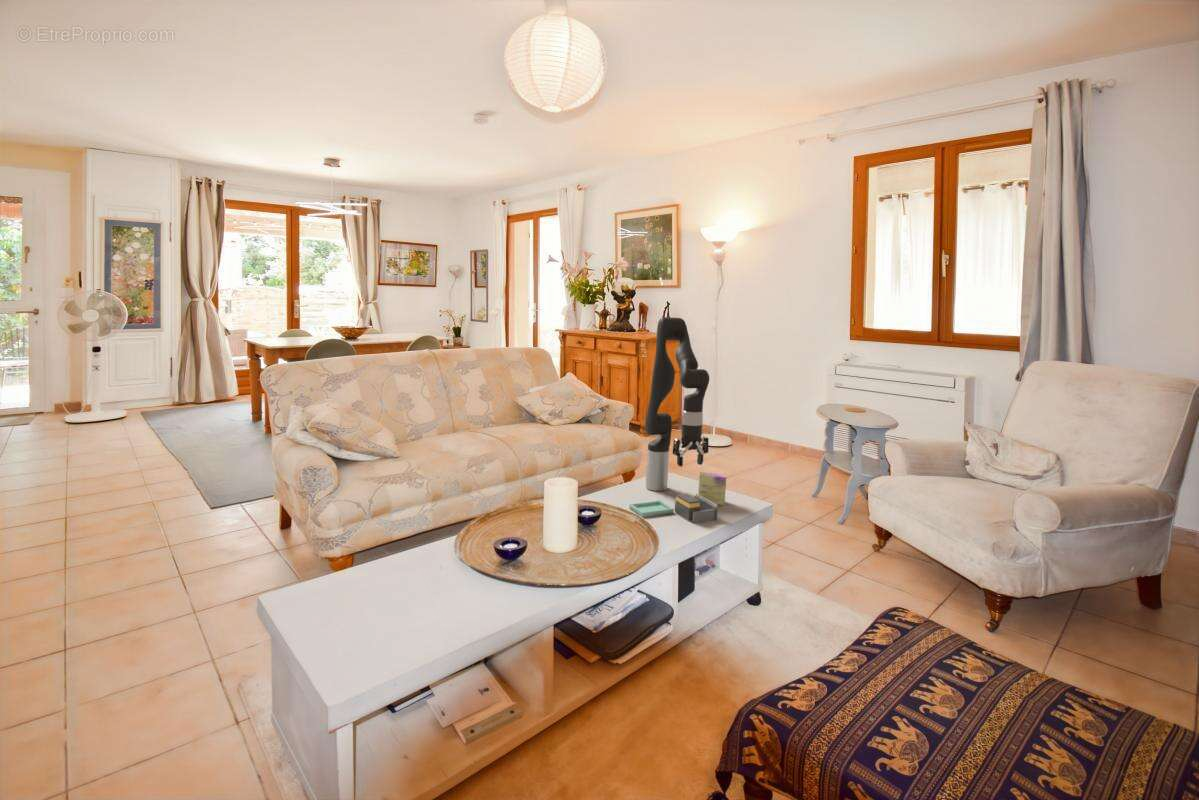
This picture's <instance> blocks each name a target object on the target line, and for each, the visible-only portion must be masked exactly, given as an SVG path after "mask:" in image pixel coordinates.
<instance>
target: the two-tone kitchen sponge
mask: <svg viewBox="0 0 1199 800" xmlns="http://www.w3.org/2000/svg"><path fill="white" fill-rule="evenodd" d="M694 497H695V496H692V495H690V494H688V493H681V494H676V497H675V501H676V511H675V514H676V515H677V516H679V517H681V518H682V519H684V520H686V521H687V522H692V519H693V512H694V511H699V507H700V501H699V500H697V499H696V498H694Z"/></svg>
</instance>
